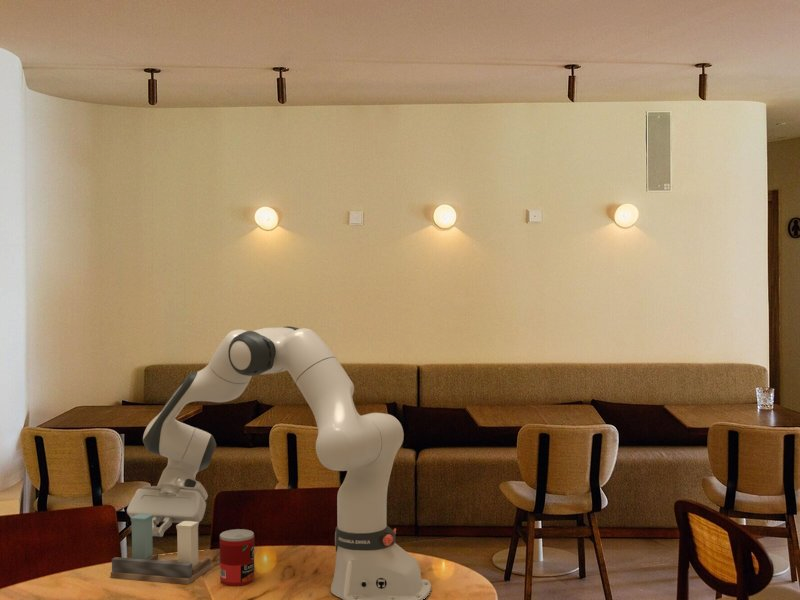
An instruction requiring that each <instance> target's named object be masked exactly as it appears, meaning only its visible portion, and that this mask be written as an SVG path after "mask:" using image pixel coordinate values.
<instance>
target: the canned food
mask: <svg viewBox="0 0 800 600" xmlns="http://www.w3.org/2000/svg"><path fill="white" fill-rule="evenodd" d="M219 579H220V582H221V584H223V585H226V586H229V587H241V586H242V587H243V586H246V585H249V584H251V583H252V582H254V579H255V533H254V532H253V531H252V530H249V529H246V528H245V529H244V528H242V529H240V528H236V529H234V528H233V529H229V530H228V529H227V530H225V531H222V532H221V533H220V534H219Z"/></svg>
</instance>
